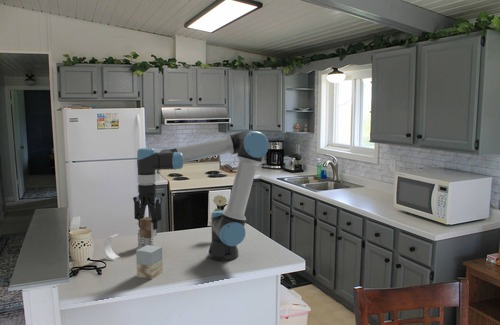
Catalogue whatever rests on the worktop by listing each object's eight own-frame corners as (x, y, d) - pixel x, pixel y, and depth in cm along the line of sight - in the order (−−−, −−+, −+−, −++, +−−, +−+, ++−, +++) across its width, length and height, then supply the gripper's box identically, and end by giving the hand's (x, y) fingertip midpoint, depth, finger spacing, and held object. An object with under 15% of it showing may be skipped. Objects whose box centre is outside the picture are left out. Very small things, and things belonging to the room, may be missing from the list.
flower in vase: (237, 236, 238) (237, 194, 235) (229, 242, 227) (229, 198, 224) (217, 234, 243) (217, 192, 240) (208, 239, 232) (208, 196, 229)
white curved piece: (113, 260, 199) (112, 236, 197) (103, 259, 201) (102, 235, 200) (119, 257, 203) (118, 234, 201) (110, 256, 205) (109, 233, 204)
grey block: (162, 259, 183) (162, 247, 182) (151, 266, 175) (151, 252, 175) (147, 257, 186) (147, 245, 185) (136, 263, 178) (136, 250, 178)
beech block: (162, 272, 183) (162, 260, 183) (152, 279, 176) (151, 266, 175) (147, 270, 186) (147, 257, 186) (137, 276, 179) (136, 263, 178)
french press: (157, 245, 222) (156, 200, 219) (150, 252, 211) (148, 204, 208) (140, 244, 223) (138, 199, 220) (132, 251, 212) (130, 204, 209)
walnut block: (156, 235, 181) (156, 217, 180) (149, 238, 176) (149, 220, 175) (147, 234, 183) (146, 216, 182) (140, 237, 178) (139, 219, 177)
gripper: (169, 183, 177) (170, 235, 179) (135, 181, 183) (136, 231, 186) (159, 186, 170) (160, 240, 173) (124, 183, 177) (126, 235, 179)
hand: (148, 235), depth 179 cm, fingers closed on walnut block, 5 cm apart
